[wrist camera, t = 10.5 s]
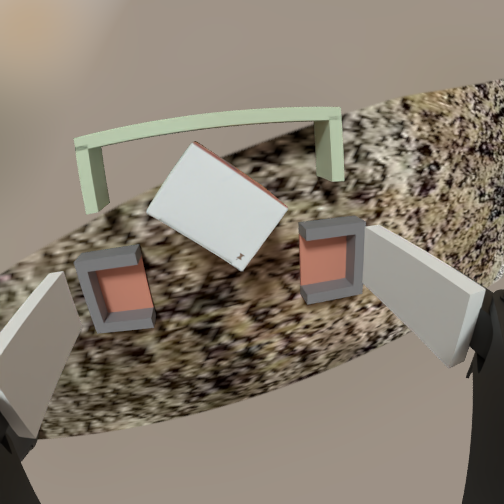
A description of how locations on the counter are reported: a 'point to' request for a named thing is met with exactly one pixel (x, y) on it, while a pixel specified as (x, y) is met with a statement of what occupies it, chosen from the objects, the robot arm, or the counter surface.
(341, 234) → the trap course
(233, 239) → the small box
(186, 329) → the counter surface
